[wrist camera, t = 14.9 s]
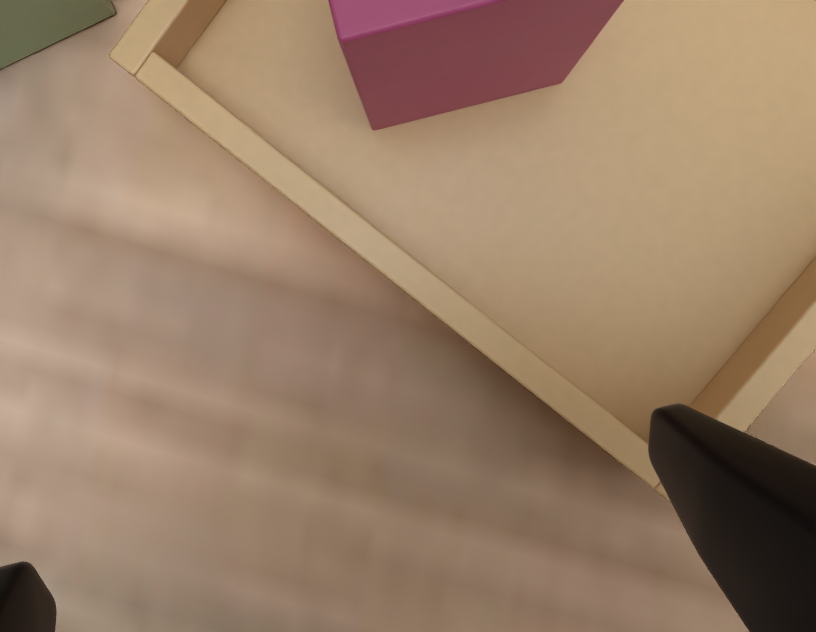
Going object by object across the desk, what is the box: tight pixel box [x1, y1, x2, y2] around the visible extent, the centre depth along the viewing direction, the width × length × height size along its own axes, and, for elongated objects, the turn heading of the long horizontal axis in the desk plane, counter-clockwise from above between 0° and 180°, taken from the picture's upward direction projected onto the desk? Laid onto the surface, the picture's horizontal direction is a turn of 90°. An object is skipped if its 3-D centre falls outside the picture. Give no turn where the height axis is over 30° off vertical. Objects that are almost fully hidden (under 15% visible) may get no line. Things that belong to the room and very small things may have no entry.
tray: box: [109, 0, 816, 502], centre depth 17 cm, size 18×14×2 cm
